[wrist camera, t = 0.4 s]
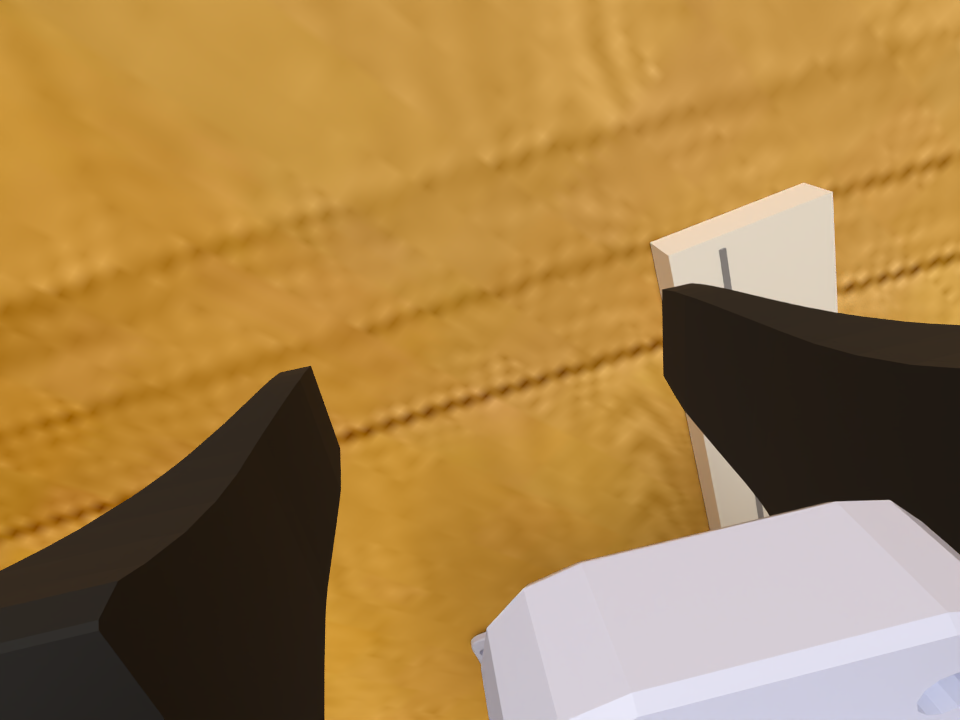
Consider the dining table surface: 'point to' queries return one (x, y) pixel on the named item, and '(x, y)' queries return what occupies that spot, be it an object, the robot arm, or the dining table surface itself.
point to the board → (757, 271)
